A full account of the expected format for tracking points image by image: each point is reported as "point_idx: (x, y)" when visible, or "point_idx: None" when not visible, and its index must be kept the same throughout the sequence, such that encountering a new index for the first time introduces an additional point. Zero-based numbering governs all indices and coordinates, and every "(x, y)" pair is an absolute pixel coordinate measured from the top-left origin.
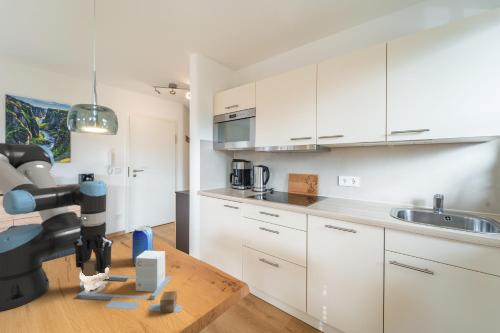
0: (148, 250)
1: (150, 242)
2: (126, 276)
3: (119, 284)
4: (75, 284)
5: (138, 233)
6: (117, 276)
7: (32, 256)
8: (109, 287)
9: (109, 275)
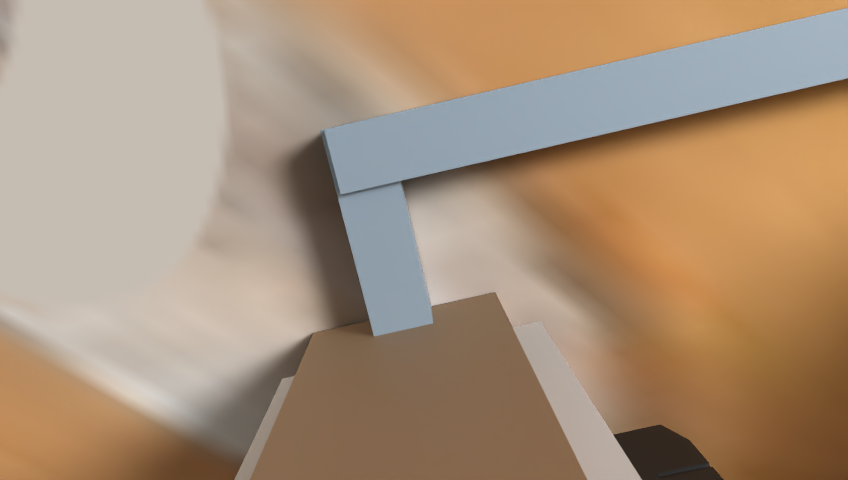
0: None
1: None
2: (833, 20)
3: (778, 200)
4: (62, 430)
5: None
6: (645, 87)
7: None
8: (680, 317)
9: (443, 110)
